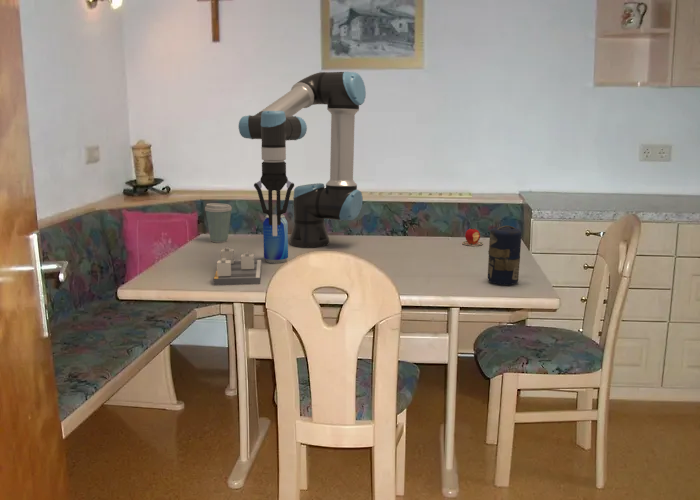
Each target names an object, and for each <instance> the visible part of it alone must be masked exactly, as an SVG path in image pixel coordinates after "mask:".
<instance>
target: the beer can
mask: <svg viewBox="0 0 700 500" xmlns="http://www.w3.org/2000/svg"><path fill="white" fill-rule="evenodd" d="M288 229H289V227H288V220H287V219H286V216H285V215H284V214H281V224H280V225H277V236H273V227H272V225H269V216H268V214H265V218H264V220H263V222H262V232H263V259H264V260H265V262H266V263H269V264H283V263H286V262H287V260H288V258H289V235H288V234H289V232H288V231H289V230H288Z"/></svg>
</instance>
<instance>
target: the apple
mask: <svg viewBox="0 0 700 500" xmlns="http://www.w3.org/2000/svg"><path fill="white" fill-rule="evenodd" d="M464 236H465V241H462V242H461V244H463V245H464V246H469V247H477V246H481V245H484V243H483V242H482V241H480V239H481V233H480V231H479V230H478V229H476V228H469V229H467V230H466V231H465V235H464Z"/></svg>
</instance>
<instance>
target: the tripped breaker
mask: <svg viewBox="0 0 700 500" xmlns="http://www.w3.org/2000/svg"><path fill="white" fill-rule="evenodd" d="M254 260H255V253H250V251H245V253H241V255H240V261H241V269H254Z"/></svg>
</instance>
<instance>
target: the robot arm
mask: <svg viewBox="0 0 700 500" xmlns="http://www.w3.org/2000/svg"><path fill="white" fill-rule="evenodd" d="M366 94H367V93H366V86H365V82H364V80H363V77H362V76H361V75H360V74H359V73H357V72H354V71H319V72H316V73H313V74H311V75H308V76H306V77H304V78H302V79H300V80H299V81H298V82H296V83H295V84H293V85H292V87H291V89H290V90H289V91H288V92H287V93H285V94H284V95H282V96H281V97H279V98H277V99H276V100H275V101H274V102H271V104H269V105H267V106H266V107H265V108H263V109H262V110H260V111H259V112H257V113H255V114H254V115H250V114H249V115H245V116H241V118H240V119H239V122H238V131H239V134H240V136H241V137H242V138H244V139H250V140H261V147H260V148H261V160H262V162H261V177H260V180H258V181H257V182H254V184H253V187H254V188H255V190H256V192H257V194H258V199H259V203H260V206H261V207H260V208H261V210H262V213H263V214H265V215H268V216H269V225H272V227H273V236H277V225H280V224H281V215H284V214H286V213H287V210H288V206H289V202H290V197H291V193H292V190H293V222H294V223H293V227H292V231H291V234H290V236H289V245H291V246H293V247H296V248H320V247H321V248H322V247H325V246H327V245H329V243H330V237H329V234H328V232H327V228H326V226H325V225H326V224H325V220H327V219H328V220H337V221H341V222H343V221H353V220H355V219H357V218H358V216H359V215H360V212H361V209H362V206H363V194H362V191H360V190H359V189H358V184H357V183H356V181H354V159H355V158H354V156H355V155H354V153H355V123H356V122H355V120H356V117H355V116H356V114H357V113H358V112H359V110H360V106H362V105H363V104H364V103H365V99H366ZM313 105H327V106H326V107H327V108H326V109H327V110H328V112H329V113H330V116H331V117H330V118H331V120H330V160H329V161H330V162H329V163H330V166H329V167H330V168H329V171H330V172H329V180H328V181H327V182H326V183H320V182H319V183H318V182H317V183H309V184H302V185H301V184H300V185H298V186H296V187H295V183H294V182H292V181H290V180H289V179H288V178H289V177H287V162H286V161H285V160H286V159H287V156H286V155H287V154H286V151H287V150H286V149H287V148H286V141H297V140H300V139H302V138H304V137H305V136H306V134H307V130H308V127H307V126H308V125H307V123H306V121H305V120H304V119H303V117H300V116H297V115H296V114H297V113H298V112H300V111H302V109H307V108H310V107H311V106H313ZM262 185H263V186H264V188H265V189H266V190H267V192H268V193H267V194H268V197H267V198H268V208H267V206H266V202H265V197H264V195H263V191H262V187H263V186H262ZM285 186H286V188H287V189H286V193H285V197H284V202H283V206H282V208H281V202H282V201H281V191H282V190H283V188H284V187H285ZM294 187H295V188H294ZM273 191H276V213H273Z"/></svg>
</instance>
